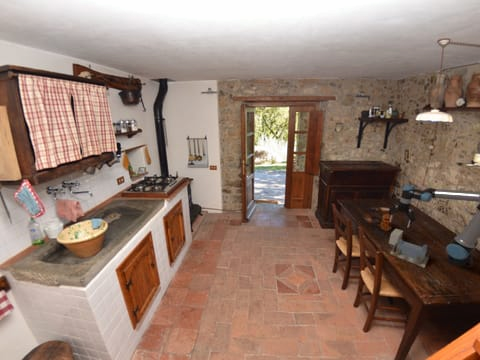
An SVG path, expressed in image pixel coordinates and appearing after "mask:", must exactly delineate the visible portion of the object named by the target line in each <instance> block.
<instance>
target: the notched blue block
mask: <svg viewBox="0 0 480 360" xmlns="http://www.w3.org/2000/svg"><path fill="white" fill-rule="evenodd" d="M397 248H399V249H401V250H400V253H399V254H401V255H404V256H407V257H410V258H413V259H416V260H417V257H418V256H419V257H422V259H421V262H423V261H424V257H425V256H426V255H427V250H428V249H427V248H428V245H427V244H423V245H422V246H421V245H417V244H414V243H411V242H407V241H405V240H403V239H402V238H401V239H399V242H398V245H397Z"/></svg>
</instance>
